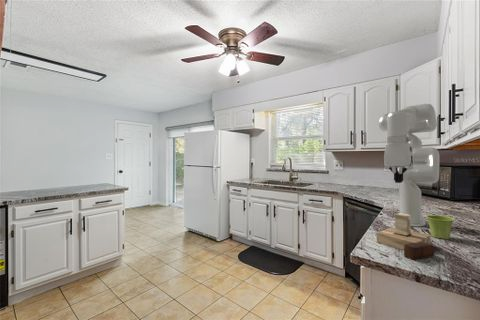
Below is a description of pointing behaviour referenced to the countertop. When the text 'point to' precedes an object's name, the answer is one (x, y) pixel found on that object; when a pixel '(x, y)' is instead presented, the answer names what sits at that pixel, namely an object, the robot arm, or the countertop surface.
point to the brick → (418, 250)
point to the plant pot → (440, 226)
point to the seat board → (400, 238)
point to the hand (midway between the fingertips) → (398, 182)
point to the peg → (402, 225)
